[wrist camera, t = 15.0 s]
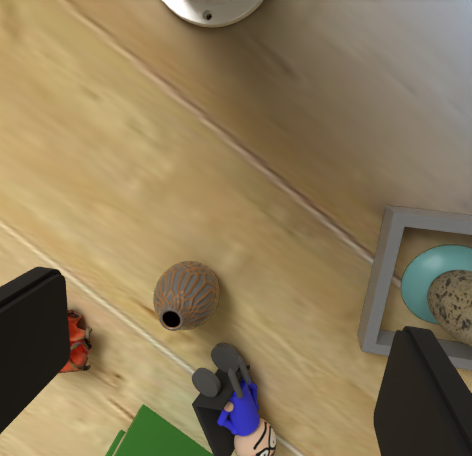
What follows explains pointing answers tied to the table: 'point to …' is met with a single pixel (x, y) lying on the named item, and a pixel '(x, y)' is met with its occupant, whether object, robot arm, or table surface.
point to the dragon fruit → (77, 345)
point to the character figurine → (231, 407)
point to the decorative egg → (453, 303)
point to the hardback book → (154, 438)
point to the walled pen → (413, 277)
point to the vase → (186, 296)
